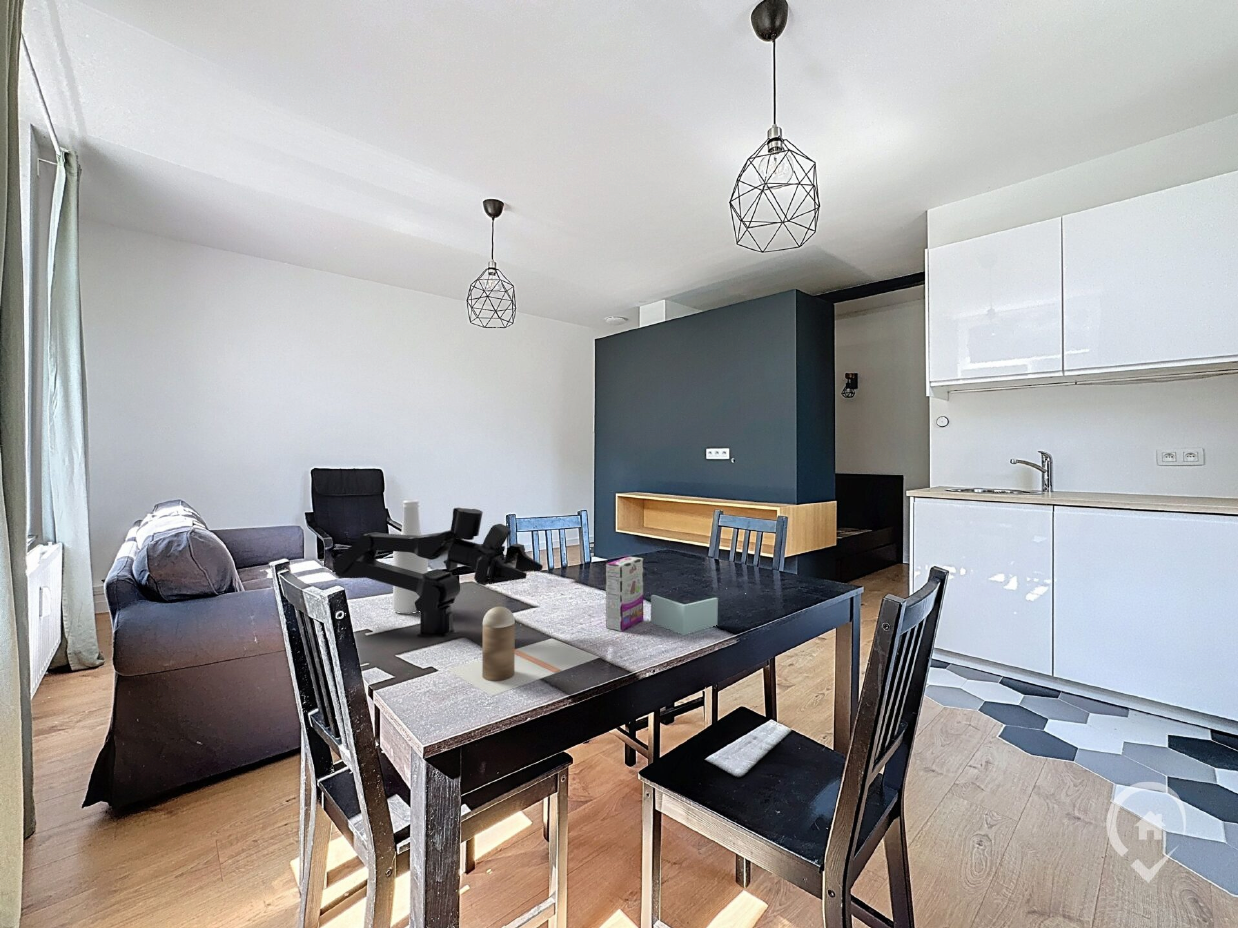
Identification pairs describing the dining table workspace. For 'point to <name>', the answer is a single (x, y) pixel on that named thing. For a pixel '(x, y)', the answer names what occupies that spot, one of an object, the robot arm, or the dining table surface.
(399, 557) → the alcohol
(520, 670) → the mat
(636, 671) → the dining table surface
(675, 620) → the right angle wall
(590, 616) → the dining table surface
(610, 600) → the candy bar box
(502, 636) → the walnut pin
